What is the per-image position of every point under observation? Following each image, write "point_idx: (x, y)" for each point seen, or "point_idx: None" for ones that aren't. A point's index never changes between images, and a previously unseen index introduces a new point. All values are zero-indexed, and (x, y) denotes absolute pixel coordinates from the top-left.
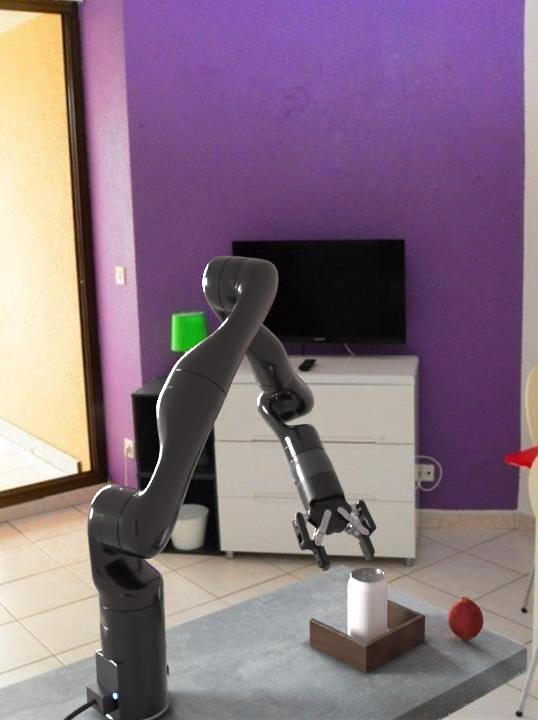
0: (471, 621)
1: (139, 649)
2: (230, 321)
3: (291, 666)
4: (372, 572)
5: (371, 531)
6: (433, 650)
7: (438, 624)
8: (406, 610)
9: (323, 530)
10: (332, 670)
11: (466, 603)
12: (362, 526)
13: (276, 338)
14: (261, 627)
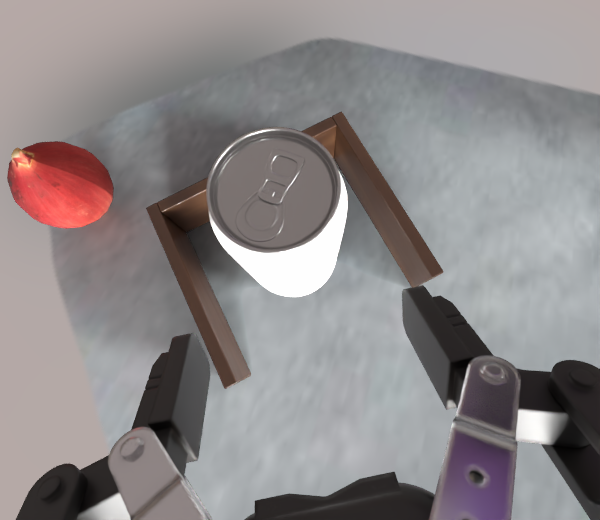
0: (64, 142)
1: None
2: None
3: (479, 210)
4: (242, 216)
5: (88, 472)
6: (177, 189)
7: (110, 286)
8: (176, 246)
9: (473, 437)
10: (398, 174)
11: (33, 151)
12: (126, 494)
13: None
14: None
